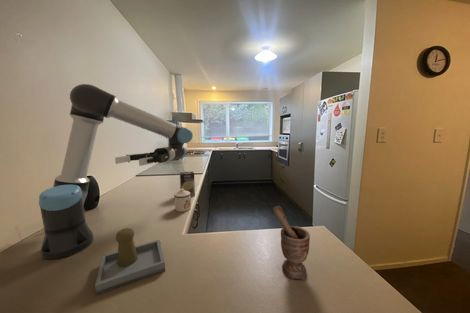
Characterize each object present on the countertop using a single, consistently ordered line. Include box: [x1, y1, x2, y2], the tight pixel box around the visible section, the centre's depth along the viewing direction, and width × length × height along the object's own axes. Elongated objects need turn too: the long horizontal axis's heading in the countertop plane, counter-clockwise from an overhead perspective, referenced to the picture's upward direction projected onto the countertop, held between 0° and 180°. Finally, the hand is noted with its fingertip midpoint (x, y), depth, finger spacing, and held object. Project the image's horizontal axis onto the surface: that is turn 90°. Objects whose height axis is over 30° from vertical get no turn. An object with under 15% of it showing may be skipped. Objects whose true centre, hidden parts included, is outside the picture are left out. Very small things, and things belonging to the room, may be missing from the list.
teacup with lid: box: [173, 189, 192, 213], centre depth 106 cm, size 12×9×12 cm
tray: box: [94, 239, 166, 296], centre depth 61 cm, size 18×14×3 cm
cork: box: [115, 227, 138, 267], centre depth 62 cm, size 6×6×11 cm
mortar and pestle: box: [273, 205, 311, 280], centre depth 58 cm, size 12×9×20 cm
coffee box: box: [179, 171, 196, 198], centre depth 125 cm, size 9×6×16 cm
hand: (127, 161), depth 76 cm, fingers open, 13 cm apart
